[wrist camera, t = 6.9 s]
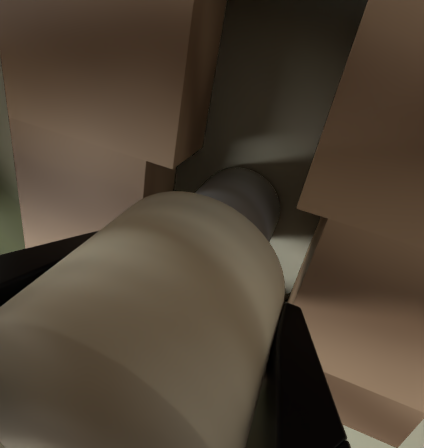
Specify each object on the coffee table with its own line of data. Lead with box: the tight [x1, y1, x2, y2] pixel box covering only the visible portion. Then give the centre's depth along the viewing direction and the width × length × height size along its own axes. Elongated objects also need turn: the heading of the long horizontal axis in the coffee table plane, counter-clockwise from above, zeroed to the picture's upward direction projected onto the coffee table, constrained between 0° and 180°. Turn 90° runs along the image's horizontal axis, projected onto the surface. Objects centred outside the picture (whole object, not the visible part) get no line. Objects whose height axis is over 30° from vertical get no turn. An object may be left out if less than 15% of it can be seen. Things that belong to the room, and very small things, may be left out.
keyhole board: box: [0, 0, 424, 448], centre depth 11 cm, size 16×16×2 cm
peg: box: [0, 168, 285, 448], centre depth 9 cm, size 5×5×9 cm
